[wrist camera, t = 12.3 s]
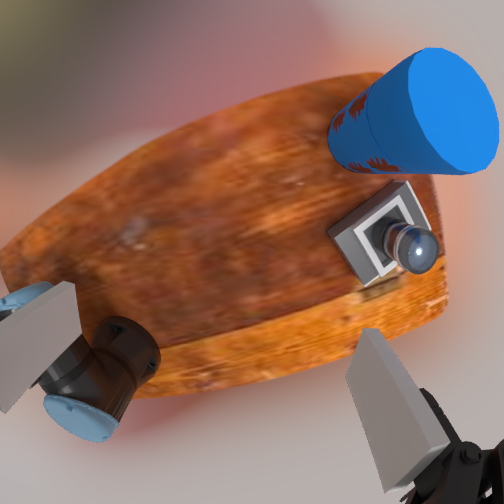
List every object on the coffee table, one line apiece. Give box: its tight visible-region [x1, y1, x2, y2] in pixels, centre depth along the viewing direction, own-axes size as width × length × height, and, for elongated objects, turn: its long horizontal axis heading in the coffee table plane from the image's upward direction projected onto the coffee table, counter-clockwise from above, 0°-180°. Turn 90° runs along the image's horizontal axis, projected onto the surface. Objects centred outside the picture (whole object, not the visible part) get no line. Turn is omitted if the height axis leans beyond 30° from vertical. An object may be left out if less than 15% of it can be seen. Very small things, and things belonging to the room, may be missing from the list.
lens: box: [372, 217, 439, 274], centre depth 31 cm, size 6×6×10 cm
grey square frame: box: [326, 180, 431, 287], centre depth 38 cm, size 15×10×7 cm, turn 128°
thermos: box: [327, 48, 499, 175], centre depth 25 cm, size 11×11×25 cm
